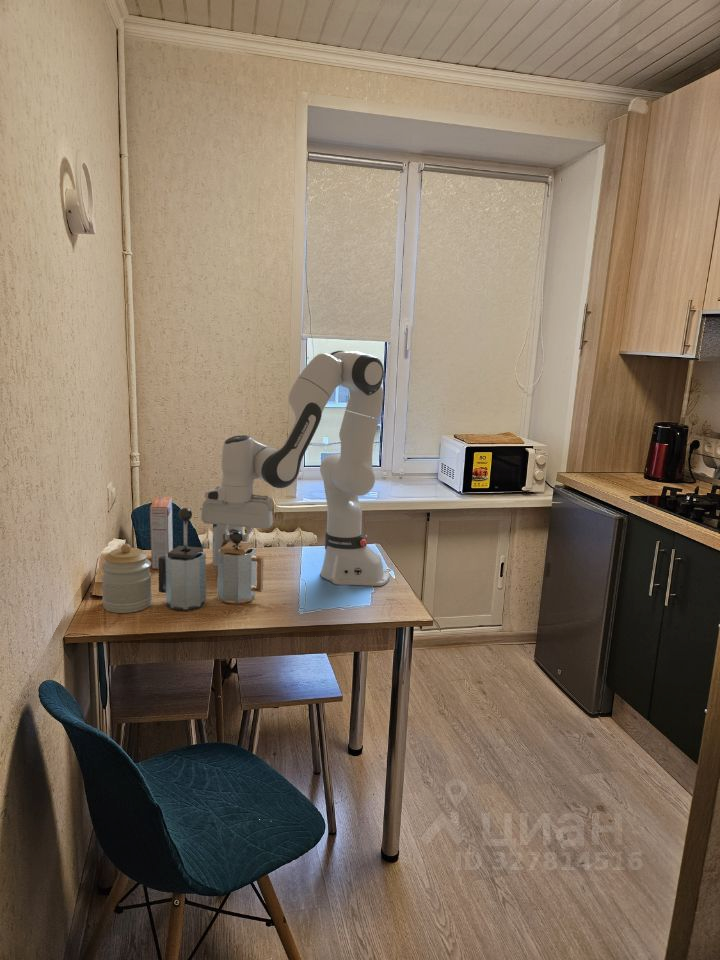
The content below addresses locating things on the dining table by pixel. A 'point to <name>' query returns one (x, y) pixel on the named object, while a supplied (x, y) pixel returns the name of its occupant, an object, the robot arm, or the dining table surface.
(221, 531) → the container
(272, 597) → the dining table surface
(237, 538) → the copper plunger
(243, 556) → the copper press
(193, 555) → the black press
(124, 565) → the jar
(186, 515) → the black plunger
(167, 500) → the cracker box
